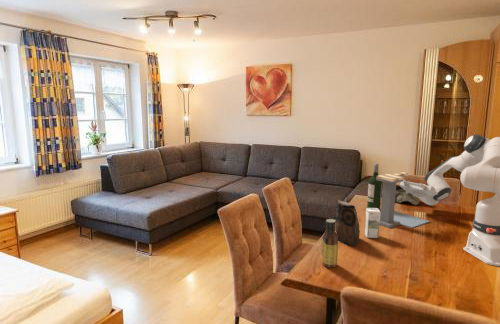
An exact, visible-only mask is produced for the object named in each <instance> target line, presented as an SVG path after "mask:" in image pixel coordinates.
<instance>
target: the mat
mask: <svg viewBox="0 0 500 324" xmlns="http://www.w3.org/2000/svg"><path fill="white" fill-rule="evenodd" d="M380 217H381V212H380ZM394 220H395V221H399V222H400V226H403V227H407V228H409V229H414V228H417V227H420V226H423V225H425V224H428V223H430V220H427V219H424V218H421V217H417V216H415V215H414V216H413V215H410V214H407V213H403V212H401V211H397V210H394Z"/></svg>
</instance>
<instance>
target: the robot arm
mask: <svg viewBox="0 0 500 324" xmlns="http://www.w3.org/2000/svg"><path fill="white" fill-rule="evenodd" d="M463 149H464V151H463V152H462V153H460V155H453V156H450V157H449V158H446V160H445V161H443V162H442V163H440V164H439V165H437V167H435V168H433V169H432V170H430V171H428V172H427V173H426V174H425V175H424V178H423V179H424V182H425V183H426V184H425V183H420V182H418V183H417V182H413V181H412V182H411V181H407V180H406V179H404V180H403V181H402V182H399V185H400V187H401V188H403V189H404V190H405V191H406V192H407V193H409V194H411V195H414V196H416V197H418V198H419V200H420V201H422V202H423V203H424V204H426V205H428V206H434V205H437V204H438V203H439V202H440V201H443V200H445V199H448V197H449V196H450V195H451V192H452V188H451V186H450V185H449V183H448V182H447V181H446V180H445V178H444V173H446V172H448V171H449V170H451V169H455V170H456V171H458V172H460V174H459V175H460V176H459V178H460V179H459V180H460V183H461V184H462V186H463V187H464V188H466V189H471V190H474V191H478V192H486V193H487V192H488V193H494V195H493V196H492V197H489V198H485V199H483V200H482V199H481V200H480V201H478V202H477V204H476V205H475V215H474V218H473V221H472V229H471V230H470V232H469V233H468V237H467V241H466V246H464V247H463V251H465V252H467V253H468V254H469V255H471V256H473V257H475V258H476V259H478V260H480V261H481V262H483V263H485V264H486V265H491V266H494V267H500V136H496V137H492V138H491V139H489V138H487V137H485V136H483V135H482V134H477V133H475V134H472V135H470V136H469V137H468V138H467V139H466V140H465V142H464V144H463Z"/></svg>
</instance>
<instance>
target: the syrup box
mask: <svg viewBox="0 0 500 324" xmlns="http://www.w3.org/2000/svg"><path fill="white" fill-rule="evenodd" d="M380 213H381V210H379V209H378V208H367V207H366V209H365V222H364V235H365V237H366V238H367V239H379V234H380V233H379V232H380V225H379V224H380Z"/></svg>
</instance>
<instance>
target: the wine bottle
mask: <svg viewBox="0 0 500 324" xmlns="http://www.w3.org/2000/svg"><path fill="white" fill-rule="evenodd" d="M379 166H380V164H379V163H376V162H374V164H373V173H372V176H371V177H370V178H369V179H368V184H367V185H368V187H367V203H366V204H367V205H366V208H378V209H379V211H381V202H382V191H381V189H382V184H383V181H378V180H376V177H377V176H379Z"/></svg>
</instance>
